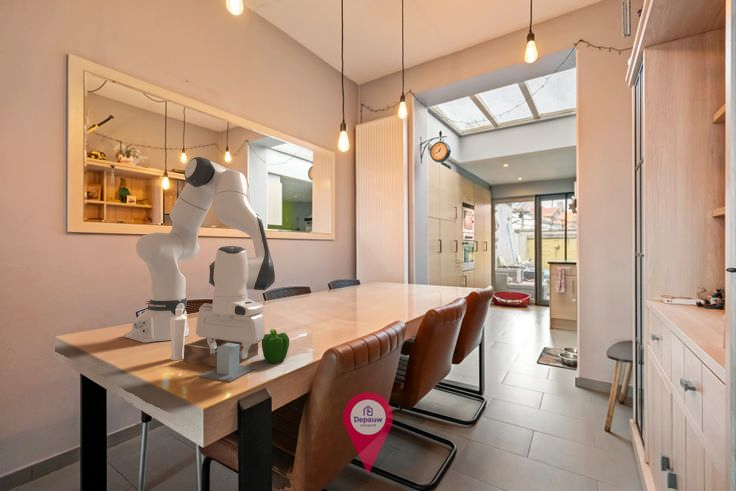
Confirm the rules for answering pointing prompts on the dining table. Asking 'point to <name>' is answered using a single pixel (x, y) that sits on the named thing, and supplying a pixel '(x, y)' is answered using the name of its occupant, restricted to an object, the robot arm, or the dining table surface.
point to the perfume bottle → (178, 335)
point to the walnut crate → (201, 352)
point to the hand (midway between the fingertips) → (228, 355)
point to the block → (228, 358)
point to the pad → (224, 377)
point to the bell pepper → (275, 346)
